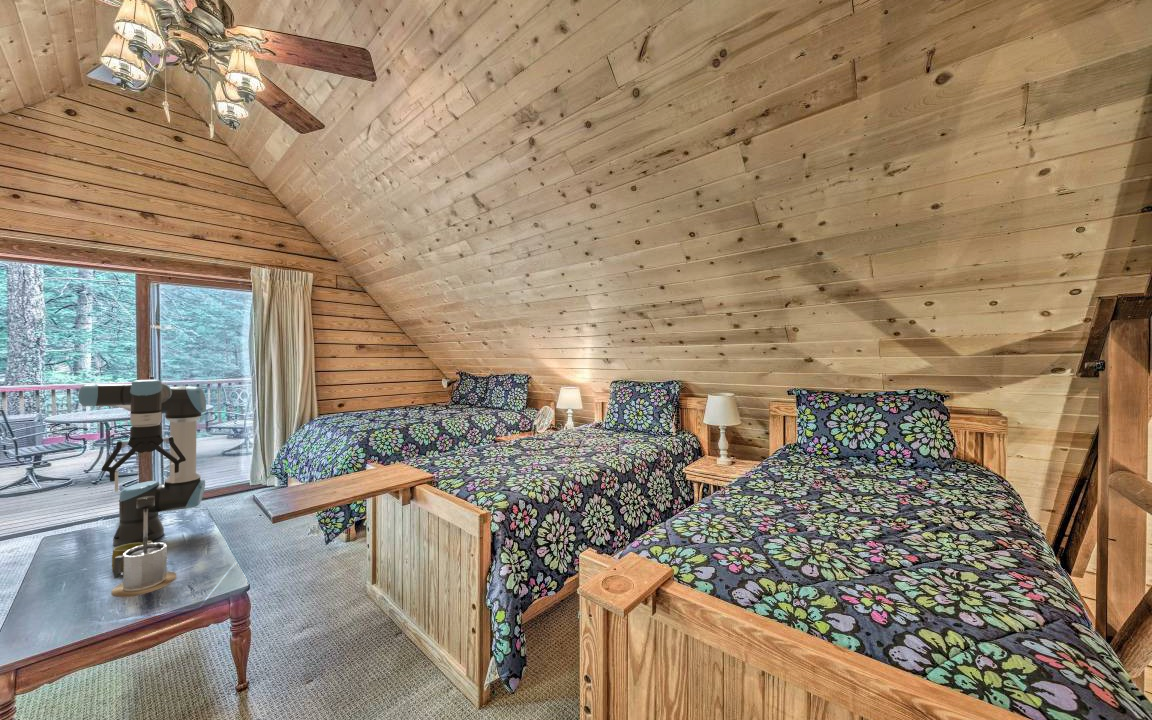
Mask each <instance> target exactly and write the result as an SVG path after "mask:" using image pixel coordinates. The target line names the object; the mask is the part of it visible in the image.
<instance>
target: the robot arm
mask: <svg viewBox="0 0 1152 720" xmlns="http://www.w3.org/2000/svg"><path fill="white" fill-rule="evenodd" d="M77 397H78V402H79V404H80V406H83V407H114V408H120V409H121V408H122V409H124V410H126V411H129V412H130V415H129V416H130V420H129V421H130V422H129V423H130V424H129V425H131V426H130V428H129V429H130V430H129V435H130V436H129V440H128V441H125V440H124V441H121V440H118V441H116V444H115V445H116V447H115V448H114V450H113V451H112V453H110V455H109V457H108V458H107V460H106V461H105V462H104V463H103V465H102V467H101V471H102V472H109V482H111V483H112V482H114V492H116V493H117V492H119V468H120V467H121V466H122V465H123V464H124V463H126V461H127V460H129V458H131V457H132V456H133V455H134V454H136V453H138V454H141V453H142V454H144V453H150V452H151V453H152V452H154V451H157V452H158V453H159V454H161V455H162V456H164V457H165V458H166V459H168V460H169V476H168V477H167V478H166V479H165V480H164V483H161V484H160V481H158V480H148V481H143V482H138V483H135V484H132V485H129V486H127V487H125V488H123V489H122V490H121V491H120V493H119V500H118V502H119V503H118V504H119V509H118V510H119V511H118V512H119V514H118V515H119V518H118V519H119V521H118V522H119V523H118V526H117V528H116V531H115V533H114V535H113V538H112V545H113V546H115V547H118V546H121V545H125V544H130V543H139V542H140V543H143V532H144V509H137V499H138V498H141V497H145V496H155V506H153V507H150V508H148V541H152V542H153V541H155V540H156V539H160V538H161V537H162V536H163V535H164V534H165V532H164V531H165V527H164V526H163V524H162V521H161V519H160V517H159V513H161V512H168V511H169V512H170V511H171V512H172V511H177V510H187V509H192V508H196V507H198V506H199V505H200V504H201V503H202V500H203V497H204V493H205V487H206V480H204V479H201V475H200V474H198V473H197V426H198V425H197V420H199V419H200V418H201V417H202V414H203V413H205V412H206V411H207V400H206V396H205V392H204V390H203V388H201V387H200V386H189V385H187V386H184V385H183V386H169V385H168V384H166V383H164V382H162V380H159V379H138V380H133V381H132V382H131V383H124V384H123V383H121V384H119V383H110V384H109V383H108V384H107V383H104V384H103V383H100V384H99V383H94V384H84V385H82V386H81V387H80V388H79V391H78V396H77ZM163 414H164V415H165V419H166V420H167V421H169V436H167V437H162V424H161V423H162V415H163ZM164 442H165V443H166V444H169V452H168V451H167V450H165V449H164V448H163V447H162V446H161V444H162V443H164ZM126 446H129V447H131V449H130V450H128V452H126V453H125V454H124V455H123V456H122V457H121V458H120V459H119V460H117V461H116V462H115V463H114V464H113V465H112V466H111V464H112V463H113V462H114V460H115V459H116V457H117V456H118V454H119V453H120V451H121V449H123V448H125V447H126Z"/></svg>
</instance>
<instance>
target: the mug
mask: <svg viewBox="0 0 1152 720" xmlns="http://www.w3.org/2000/svg"><path fill="white" fill-rule="evenodd" d="M149 543H154V542H153V540H152V541H148V544H149ZM140 545H143V543H140V542H139V543H130V544H125V545H121V546H115V547H114V548H113V550H112V554H111V568H112V569H111V570H112V571H113V572H114V558H115V557H117V556H122V555H123V553H124V552H126V551H127V550H129V549H131V548H134V547H137V546H140ZM121 573H123V560H121Z"/></svg>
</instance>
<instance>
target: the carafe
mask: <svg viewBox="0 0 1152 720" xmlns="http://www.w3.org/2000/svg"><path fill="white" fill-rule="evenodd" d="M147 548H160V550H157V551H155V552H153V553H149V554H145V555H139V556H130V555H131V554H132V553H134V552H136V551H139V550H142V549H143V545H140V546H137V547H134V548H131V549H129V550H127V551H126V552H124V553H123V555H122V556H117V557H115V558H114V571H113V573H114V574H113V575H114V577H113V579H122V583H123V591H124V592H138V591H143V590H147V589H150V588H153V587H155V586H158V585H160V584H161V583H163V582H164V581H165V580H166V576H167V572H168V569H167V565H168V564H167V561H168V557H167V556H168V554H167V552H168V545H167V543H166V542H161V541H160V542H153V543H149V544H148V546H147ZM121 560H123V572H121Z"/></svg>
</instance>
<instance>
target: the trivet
mask: <svg viewBox="0 0 1152 720" xmlns="http://www.w3.org/2000/svg"><path fill="white" fill-rule="evenodd" d="M177 577H178V575H177V573H176V572H173V571H167V576H166V580H165V581H164V582H163V583H161V584H160V585H158V586H155V587H153V588H150V589H147V590H143V591H138V592H124V591H123V582H121V583H120V584H118V585H116V586H115V587H114V588H113V589H112V590H111V591H110V594H111V595H112V596H113V597H116V598H129V597H136V596H141V595H145V594H148V593H152V592H155V591H157V590H159V589H162V588H164V587H166V586H168V585H170V584H172V582H174V581H175V580H176V578H177Z"/></svg>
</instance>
